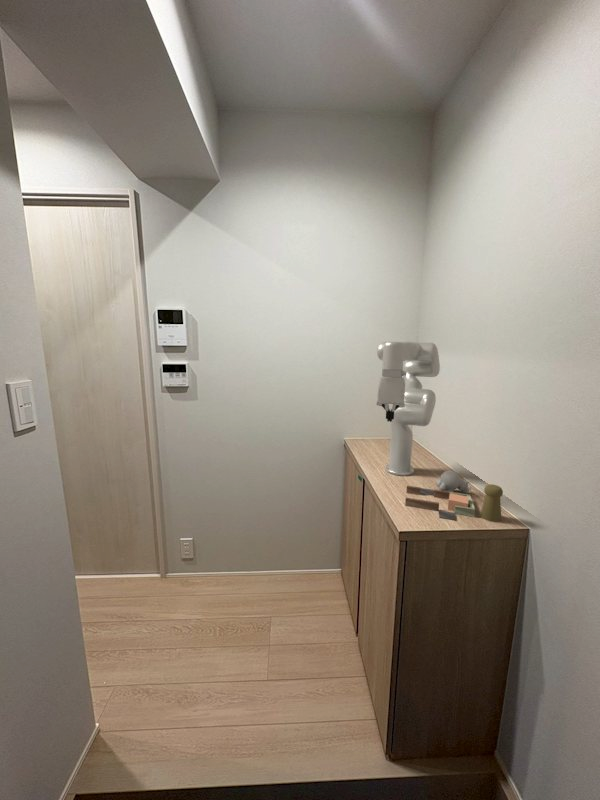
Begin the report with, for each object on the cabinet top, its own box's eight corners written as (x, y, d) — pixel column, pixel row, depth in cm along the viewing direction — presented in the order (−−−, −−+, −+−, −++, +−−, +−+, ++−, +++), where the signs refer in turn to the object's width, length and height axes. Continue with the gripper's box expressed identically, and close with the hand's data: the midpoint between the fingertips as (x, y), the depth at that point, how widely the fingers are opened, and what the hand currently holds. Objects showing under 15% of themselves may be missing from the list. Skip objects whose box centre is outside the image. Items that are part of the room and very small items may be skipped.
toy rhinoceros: (468, 504, 122) (479, 485, 121) (438, 490, 123) (448, 471, 122) (461, 495, 130) (472, 477, 128) (433, 482, 130) (443, 464, 129)
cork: (476, 513, 110) (479, 482, 109) (493, 512, 111) (496, 482, 109) (487, 522, 104) (491, 490, 103) (505, 521, 105) (509, 489, 103)
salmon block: (449, 503, 117) (449, 493, 117) (467, 507, 115) (468, 496, 114) (447, 510, 112) (448, 499, 112) (467, 514, 109) (468, 503, 109)
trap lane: (407, 486, 131) (407, 480, 131) (467, 495, 124) (468, 489, 123) (404, 511, 110) (404, 504, 110) (476, 524, 103) (477, 516, 103)
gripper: (412, 374, 126) (409, 420, 128) (373, 373, 131) (371, 417, 134) (412, 375, 119) (409, 424, 121) (371, 374, 124) (369, 421, 127)
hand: (389, 420), depth 127 cm, fingers closed
